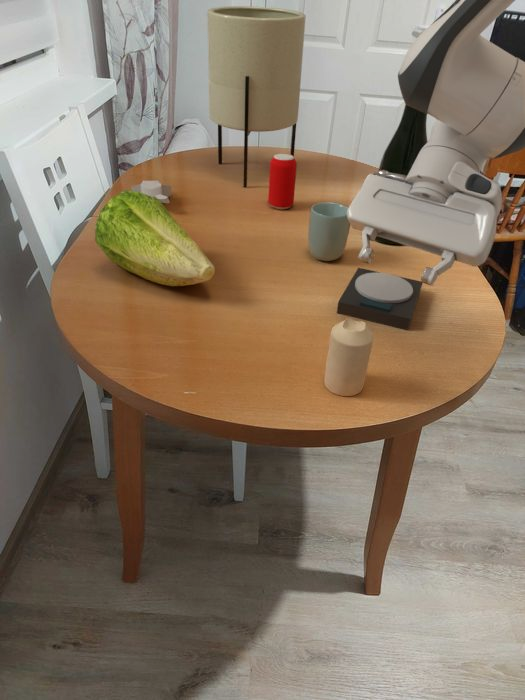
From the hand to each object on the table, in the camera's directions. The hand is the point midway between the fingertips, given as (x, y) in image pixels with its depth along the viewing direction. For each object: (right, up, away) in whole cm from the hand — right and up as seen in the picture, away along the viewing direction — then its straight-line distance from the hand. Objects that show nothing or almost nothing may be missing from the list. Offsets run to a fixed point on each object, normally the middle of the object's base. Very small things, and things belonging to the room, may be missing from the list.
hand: (393, 271), depth 71 cm
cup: (-5, +8, +34) cm, 35 cm away
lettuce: (-36, +2, +23) cm, 43 cm away
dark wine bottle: (+10, +14, +44) cm, 48 cm away
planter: (-21, +38, +75) cm, 87 cm away
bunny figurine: (-44, +24, +53) cm, 74 cm away
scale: (+3, -2, +20) cm, 21 cm away
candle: (-7, -16, +1) cm, 17 cm away
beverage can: (-14, +24, +56) cm, 62 cm away
